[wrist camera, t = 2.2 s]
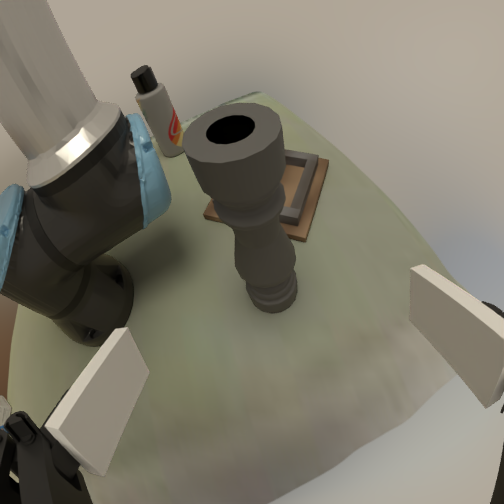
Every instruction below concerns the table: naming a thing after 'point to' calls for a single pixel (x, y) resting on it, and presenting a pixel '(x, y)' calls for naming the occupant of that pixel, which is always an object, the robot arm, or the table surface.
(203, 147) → the candle holder
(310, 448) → the table surface
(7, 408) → the ink box
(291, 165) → the socket plate
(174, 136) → the lotion bottle
